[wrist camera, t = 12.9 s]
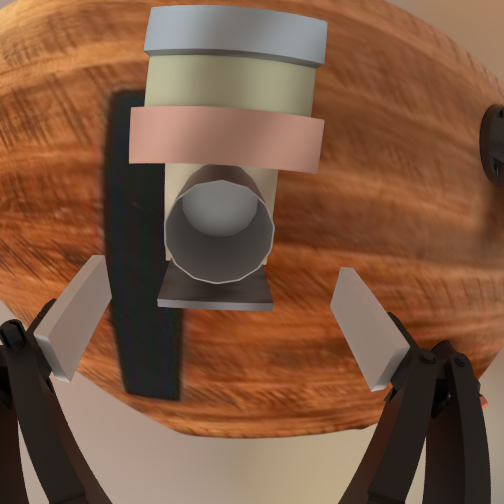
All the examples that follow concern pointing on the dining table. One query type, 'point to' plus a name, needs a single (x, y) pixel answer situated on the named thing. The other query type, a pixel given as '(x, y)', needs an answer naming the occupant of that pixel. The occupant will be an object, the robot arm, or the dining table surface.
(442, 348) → the bottle
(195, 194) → the cup
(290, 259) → the dining table surface
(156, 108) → the pastel book stand
